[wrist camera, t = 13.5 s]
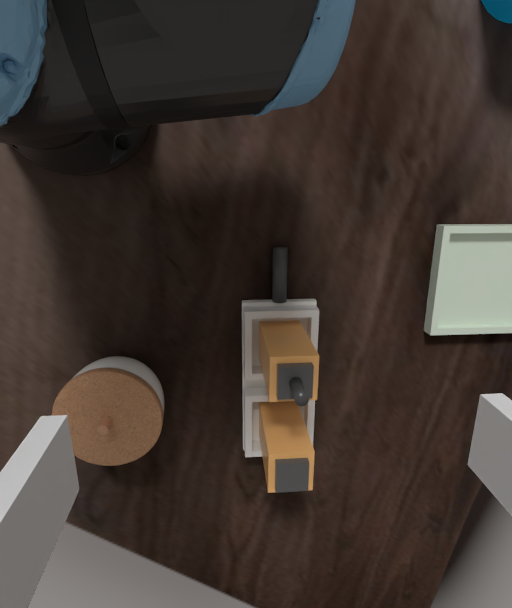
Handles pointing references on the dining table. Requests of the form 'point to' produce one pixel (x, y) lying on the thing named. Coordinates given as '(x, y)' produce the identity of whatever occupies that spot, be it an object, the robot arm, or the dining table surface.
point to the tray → (470, 280)
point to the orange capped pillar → (285, 447)
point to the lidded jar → (112, 410)
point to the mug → (499, 9)
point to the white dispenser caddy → (278, 354)
